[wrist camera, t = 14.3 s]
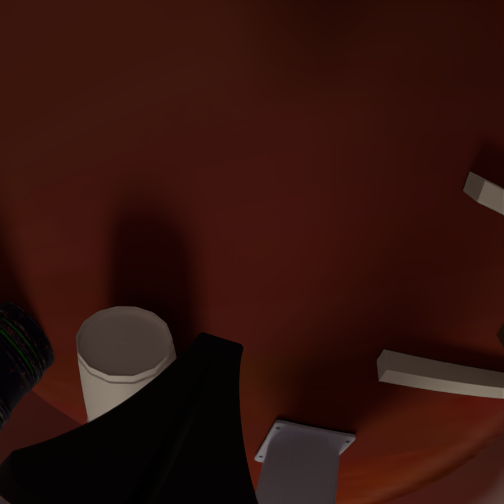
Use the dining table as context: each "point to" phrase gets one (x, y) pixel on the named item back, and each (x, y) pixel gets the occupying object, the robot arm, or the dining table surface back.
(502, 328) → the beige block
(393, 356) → the bay
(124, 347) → the foam cup
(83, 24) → the dining table surface
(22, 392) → the green-striped black cylinder
